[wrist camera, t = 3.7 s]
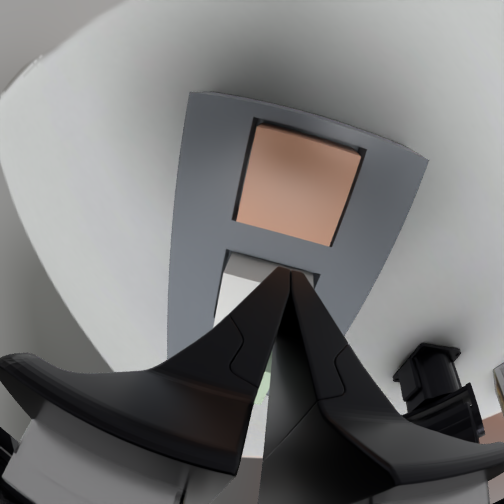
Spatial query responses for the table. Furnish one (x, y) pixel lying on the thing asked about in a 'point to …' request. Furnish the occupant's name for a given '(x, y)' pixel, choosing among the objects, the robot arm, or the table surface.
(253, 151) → the terracotta key
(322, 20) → the table surface
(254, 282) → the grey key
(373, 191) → the keypad console
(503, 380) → the coffee box
